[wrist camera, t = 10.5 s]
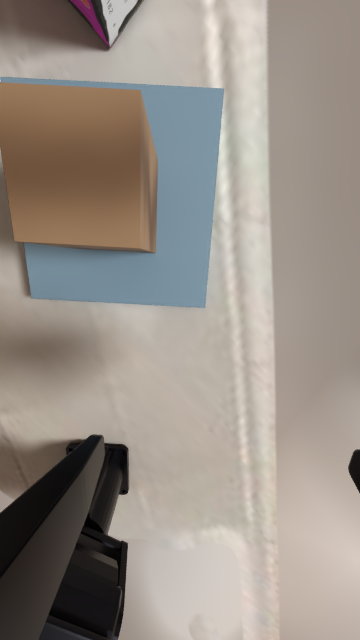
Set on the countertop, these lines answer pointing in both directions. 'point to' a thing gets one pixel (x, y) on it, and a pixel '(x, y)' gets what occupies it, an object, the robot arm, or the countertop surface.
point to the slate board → (172, 211)
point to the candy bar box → (107, 16)
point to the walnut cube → (79, 167)
